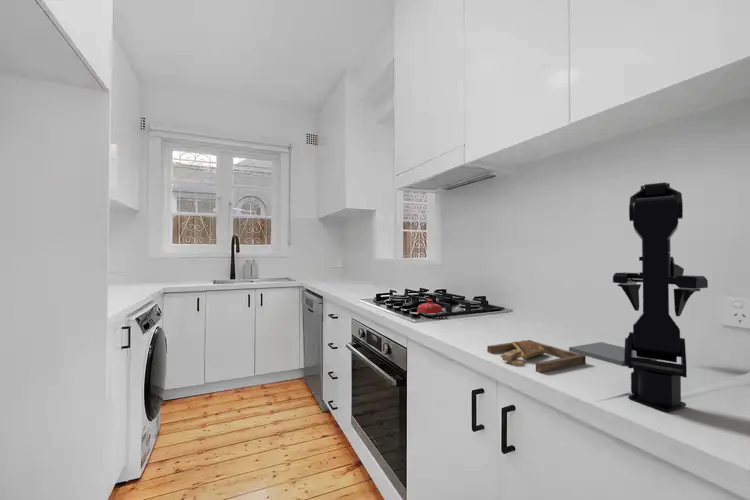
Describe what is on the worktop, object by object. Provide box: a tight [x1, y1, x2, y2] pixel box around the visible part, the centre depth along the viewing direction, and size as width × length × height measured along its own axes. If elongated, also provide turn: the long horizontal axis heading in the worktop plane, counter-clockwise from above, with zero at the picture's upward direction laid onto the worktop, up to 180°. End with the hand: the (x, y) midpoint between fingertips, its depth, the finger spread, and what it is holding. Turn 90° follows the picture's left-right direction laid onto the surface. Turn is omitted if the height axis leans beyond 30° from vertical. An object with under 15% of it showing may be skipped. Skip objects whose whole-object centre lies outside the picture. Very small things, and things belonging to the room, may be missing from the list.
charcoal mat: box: [568, 341, 650, 366], centre depth 94 cm, size 14×14×1 cm
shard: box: [512, 340, 546, 360], centre depth 93 cm, size 11×8×2 cm
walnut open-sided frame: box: [486, 339, 587, 374], centre depth 91 cm, size 17×16×2 cm
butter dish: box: [416, 298, 444, 313], centre depth 146 cm, size 12×12×8 cm
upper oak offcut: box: [501, 350, 522, 363], centre depth 88 cm, size 6×2×2 cm, turn 132°
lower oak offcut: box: [499, 354, 524, 367], centre depth 88 cm, size 7×2×2 cm, turn 6°
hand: (656, 313), depth 89 cm, fingers open, 9 cm apart
